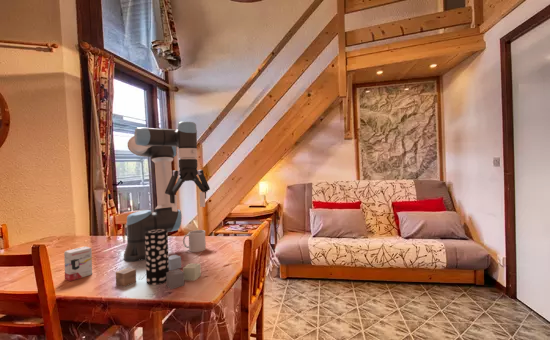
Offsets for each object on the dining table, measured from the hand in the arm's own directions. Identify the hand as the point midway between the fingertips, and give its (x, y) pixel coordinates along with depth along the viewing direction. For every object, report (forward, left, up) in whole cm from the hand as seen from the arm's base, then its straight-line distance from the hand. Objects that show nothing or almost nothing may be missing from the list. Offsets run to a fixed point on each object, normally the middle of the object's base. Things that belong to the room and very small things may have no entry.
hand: (189, 208), depth 113 cm
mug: (-29, +21, -28) cm, 46 cm away
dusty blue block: (-13, -1, -28) cm, 31 cm away
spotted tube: (-5, -12, -28) cm, 31 cm away
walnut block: (-13, -21, -28) cm, 37 cm away
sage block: (+4, -2, -28) cm, 28 cm away
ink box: (-37, -31, -28) cm, 56 cm away
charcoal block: (+5, -10, -28) cm, 30 cm away
